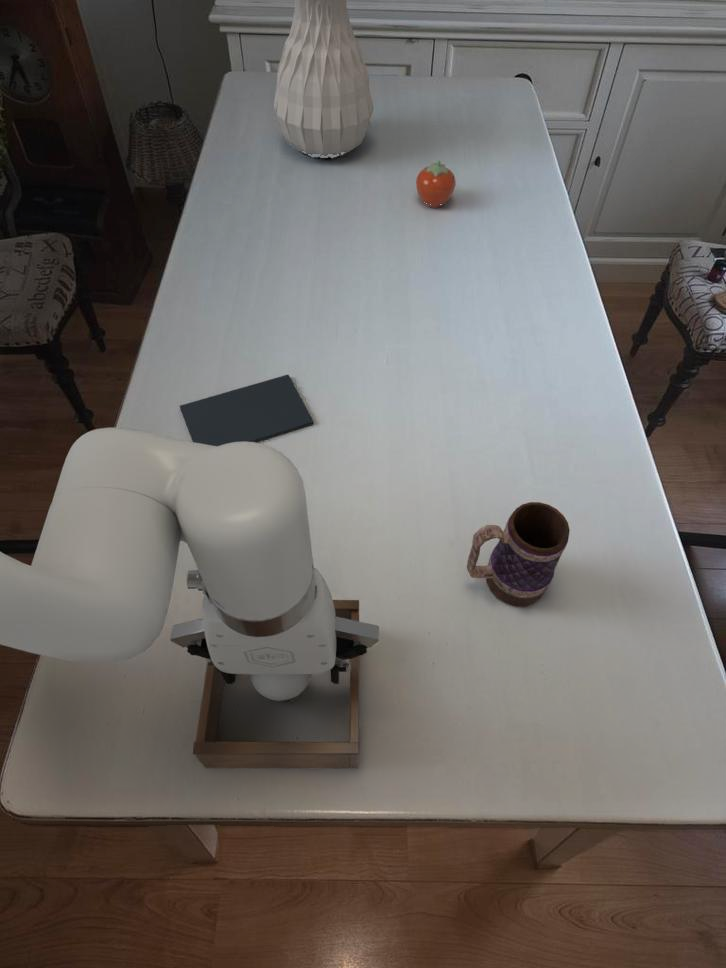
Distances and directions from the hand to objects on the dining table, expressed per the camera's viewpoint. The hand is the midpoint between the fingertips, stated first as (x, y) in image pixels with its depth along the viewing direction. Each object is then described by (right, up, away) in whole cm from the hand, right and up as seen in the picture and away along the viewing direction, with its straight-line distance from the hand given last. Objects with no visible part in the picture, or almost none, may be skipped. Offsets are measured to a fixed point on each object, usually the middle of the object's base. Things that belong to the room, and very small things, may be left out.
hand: (284, 668), depth 59 cm
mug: (+23, +6, +14) cm, 28 cm away
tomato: (+21, +71, +62) cm, 97 cm away
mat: (-9, +27, +28) cm, 40 cm away
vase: (-1, +88, +74) cm, 115 cm away
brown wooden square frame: (0, -4, +5) cm, 7 cm away
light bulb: (0, -4, +6) cm, 7 cm away
